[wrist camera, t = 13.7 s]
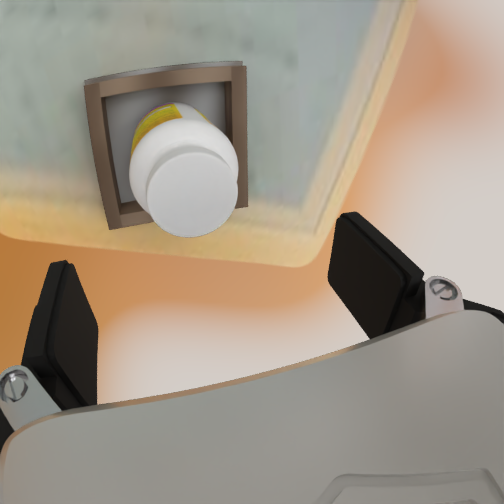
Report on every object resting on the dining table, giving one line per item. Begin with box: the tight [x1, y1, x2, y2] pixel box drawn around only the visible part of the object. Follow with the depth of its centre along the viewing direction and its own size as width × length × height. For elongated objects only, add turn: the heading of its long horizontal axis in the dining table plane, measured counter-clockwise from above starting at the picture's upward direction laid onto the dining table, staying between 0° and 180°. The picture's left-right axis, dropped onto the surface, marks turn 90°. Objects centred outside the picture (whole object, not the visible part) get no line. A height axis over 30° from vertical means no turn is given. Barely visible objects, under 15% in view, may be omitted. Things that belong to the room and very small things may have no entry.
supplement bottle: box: [129, 102, 238, 237], centre depth 21 cm, size 7×7×13 cm
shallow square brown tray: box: [84, 61, 248, 230], centre depth 25 cm, size 13×13×4 cm
